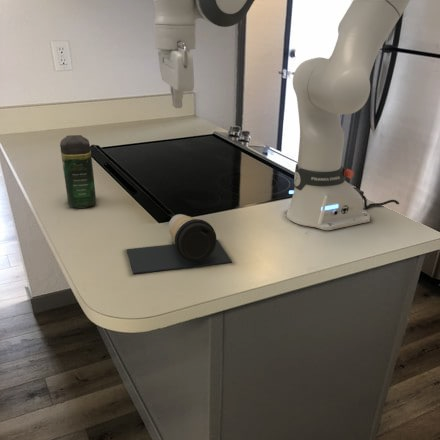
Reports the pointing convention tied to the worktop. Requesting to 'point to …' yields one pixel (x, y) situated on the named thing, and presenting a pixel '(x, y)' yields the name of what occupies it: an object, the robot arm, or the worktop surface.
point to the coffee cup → (192, 237)
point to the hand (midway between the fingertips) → (177, 107)
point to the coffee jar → (78, 171)
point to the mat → (170, 259)
